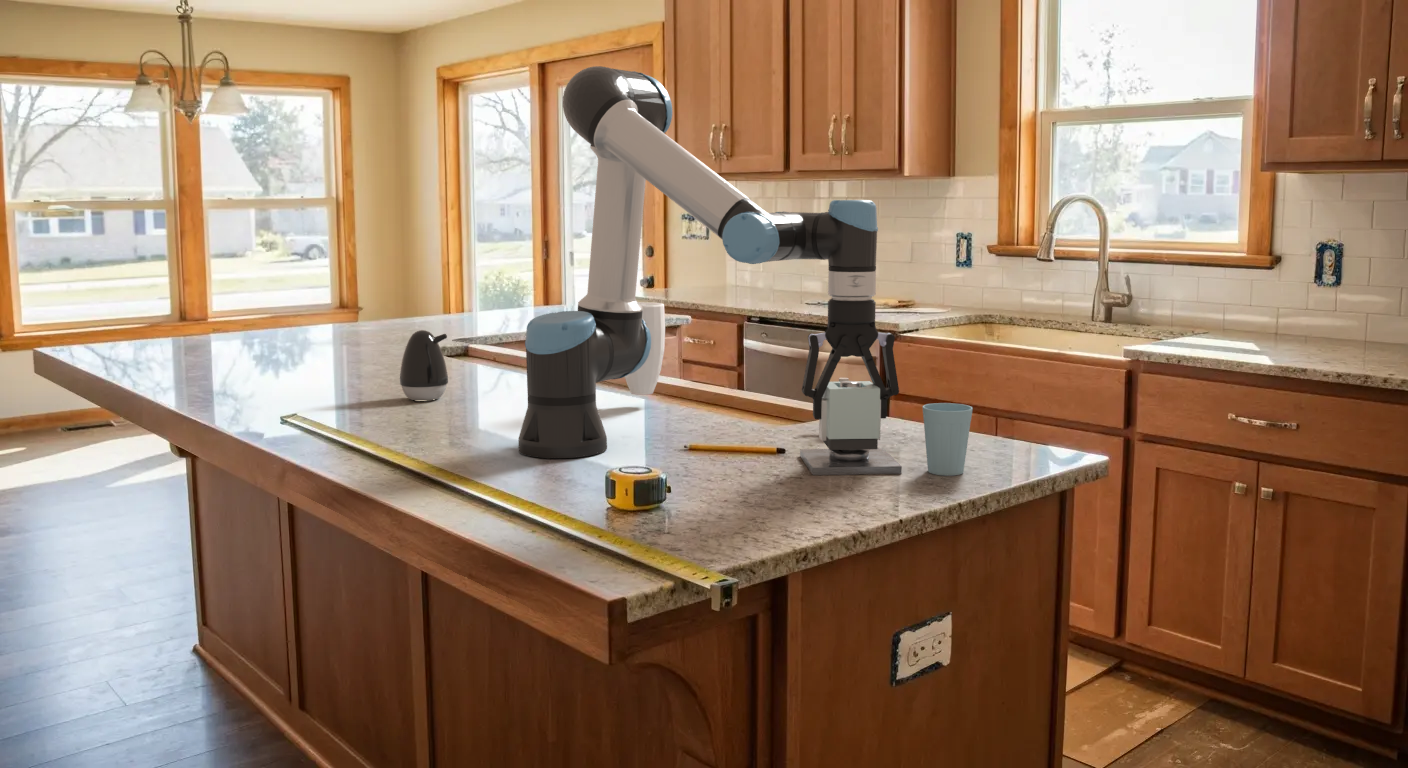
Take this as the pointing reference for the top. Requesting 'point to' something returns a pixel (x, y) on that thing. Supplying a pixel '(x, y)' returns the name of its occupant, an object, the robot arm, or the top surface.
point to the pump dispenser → (423, 367)
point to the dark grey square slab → (851, 444)
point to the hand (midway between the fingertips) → (849, 438)
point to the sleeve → (852, 411)
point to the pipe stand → (849, 458)
